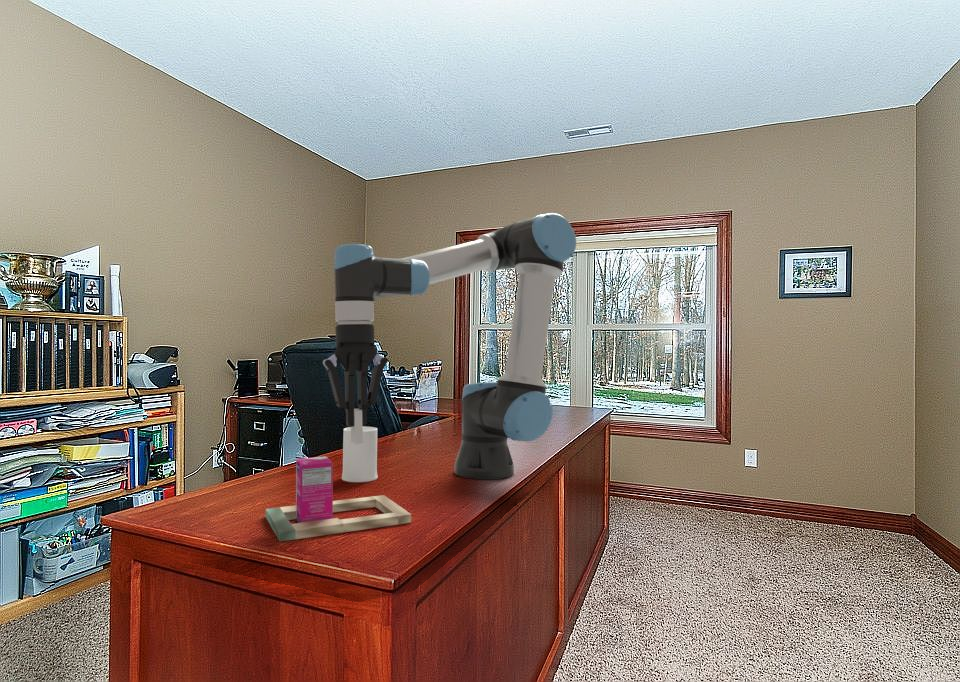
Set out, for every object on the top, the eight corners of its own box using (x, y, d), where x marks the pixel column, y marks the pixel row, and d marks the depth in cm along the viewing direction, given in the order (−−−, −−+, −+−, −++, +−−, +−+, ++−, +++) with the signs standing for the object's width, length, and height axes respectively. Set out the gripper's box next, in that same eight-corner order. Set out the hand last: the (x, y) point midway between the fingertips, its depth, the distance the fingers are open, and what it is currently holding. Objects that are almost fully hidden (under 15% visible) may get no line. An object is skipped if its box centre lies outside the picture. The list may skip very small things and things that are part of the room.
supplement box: (294, 520, 105) (295, 458, 105) (327, 517, 108) (328, 455, 108) (299, 530, 100) (300, 464, 100) (333, 526, 102) (334, 461, 102)
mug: (357, 470, 147) (357, 423, 147) (388, 472, 145) (389, 425, 145) (335, 481, 136) (336, 430, 136) (368, 483, 134) (369, 432, 134)
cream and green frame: (383, 502, 118) (383, 495, 118) (411, 522, 105) (411, 514, 105) (265, 516, 107) (265, 508, 107) (279, 541, 94) (279, 532, 94)
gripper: (379, 323, 120) (381, 436, 121) (316, 324, 114) (318, 443, 114) (392, 323, 114) (394, 441, 114) (327, 323, 107) (329, 449, 107)
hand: (356, 442), depth 114 cm, fingers closed
